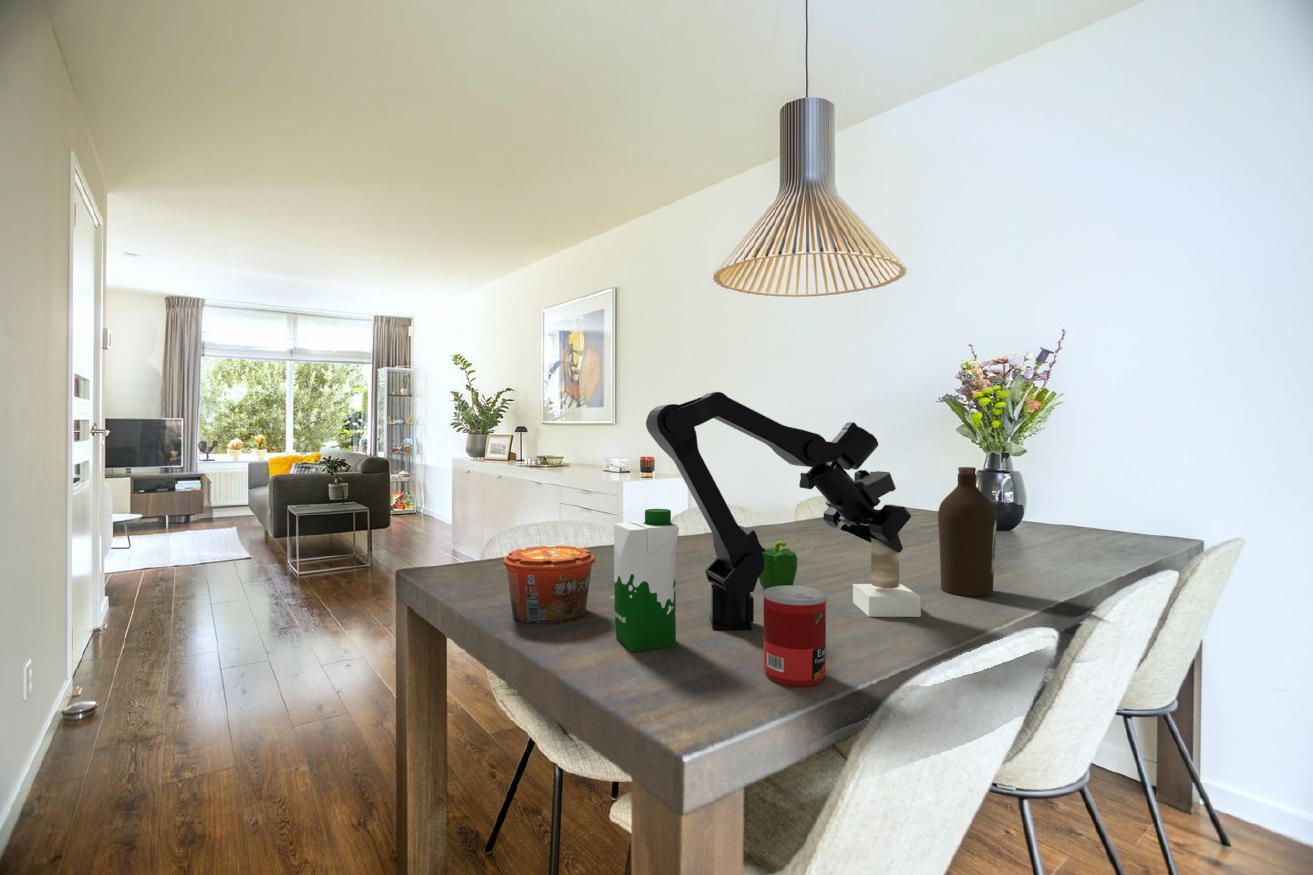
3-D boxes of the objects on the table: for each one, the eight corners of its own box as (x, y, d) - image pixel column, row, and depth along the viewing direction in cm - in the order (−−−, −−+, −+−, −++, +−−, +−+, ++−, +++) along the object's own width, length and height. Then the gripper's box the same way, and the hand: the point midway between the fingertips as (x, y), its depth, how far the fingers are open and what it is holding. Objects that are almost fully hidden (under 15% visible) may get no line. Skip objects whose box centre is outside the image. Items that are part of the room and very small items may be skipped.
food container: (612, 615, 109) (612, 554, 109) (527, 633, 99) (527, 566, 99) (567, 596, 121) (567, 541, 121) (488, 610, 112) (488, 551, 112)
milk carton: (684, 646, 93) (684, 512, 92) (627, 655, 89) (627, 516, 89) (660, 629, 101) (660, 506, 101) (607, 637, 97) (607, 509, 97)
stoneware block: (868, 616, 108) (868, 596, 108) (852, 602, 117) (852, 583, 117) (920, 616, 108) (920, 596, 108) (900, 602, 117) (900, 584, 117)
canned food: (827, 690, 77) (827, 601, 77) (762, 684, 79) (762, 598, 79) (823, 667, 85) (823, 586, 85) (764, 662, 86) (764, 583, 86)
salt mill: (886, 589, 109) (886, 515, 109) (865, 583, 113) (865, 512, 113) (905, 586, 111) (905, 513, 111) (884, 580, 116) (884, 510, 116)
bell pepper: (751, 584, 131) (751, 536, 131) (789, 583, 132) (789, 536, 132) (762, 594, 123) (762, 543, 123) (802, 593, 124) (802, 543, 124)
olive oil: (945, 596, 121) (945, 468, 121) (931, 583, 131) (932, 465, 131) (1004, 599, 119) (1005, 469, 119) (986, 586, 129) (986, 466, 129)
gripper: (901, 458, 102) (956, 522, 105) (837, 454, 120) (885, 509, 123) (859, 507, 100) (916, 571, 103) (800, 496, 118) (851, 551, 121)
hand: (891, 548), depth 113 cm, fingers closed on salt mill, 5 cm apart
